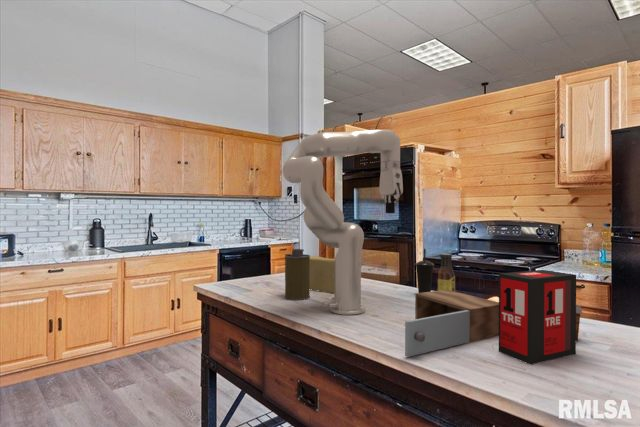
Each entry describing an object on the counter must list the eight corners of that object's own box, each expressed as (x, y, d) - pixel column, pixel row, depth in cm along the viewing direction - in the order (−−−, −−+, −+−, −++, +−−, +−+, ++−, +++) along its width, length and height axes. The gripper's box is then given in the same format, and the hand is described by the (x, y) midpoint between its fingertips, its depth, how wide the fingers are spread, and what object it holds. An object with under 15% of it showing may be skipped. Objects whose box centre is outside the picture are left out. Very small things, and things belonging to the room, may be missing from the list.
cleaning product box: (542, 342, 102) (542, 269, 102) (575, 354, 94) (576, 274, 94) (498, 351, 96) (499, 273, 96) (530, 364, 88) (530, 279, 88)
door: (474, 343, 100) (474, 312, 100) (412, 359, 90) (412, 324, 89) (466, 340, 103) (466, 310, 102) (405, 355, 92) (405, 321, 92)
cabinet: (470, 342, 102) (470, 309, 102) (415, 321, 122) (415, 293, 122) (504, 334, 109) (504, 303, 109) (446, 315, 128) (446, 289, 128)
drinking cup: (434, 294, 162) (434, 248, 162) (433, 298, 154) (433, 249, 154) (416, 293, 164) (416, 247, 164) (414, 296, 157) (414, 249, 157)
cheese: (353, 293, 164) (353, 259, 164) (338, 297, 157) (339, 261, 157) (316, 286, 179) (316, 254, 179) (301, 289, 172) (301, 256, 172)
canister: (314, 296, 157) (314, 248, 157) (300, 301, 148) (300, 251, 148) (293, 293, 162) (294, 247, 162) (278, 298, 154) (278, 249, 154)
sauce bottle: (456, 309, 137) (456, 255, 137) (438, 308, 138) (438, 254, 138) (453, 305, 143) (453, 253, 143) (436, 304, 144) (436, 252, 144)
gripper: (409, 165, 143) (409, 213, 143) (387, 169, 156) (387, 213, 157) (393, 164, 140) (393, 213, 140) (372, 168, 153) (371, 213, 154)
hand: (390, 213), depth 148 cm, fingers closed
